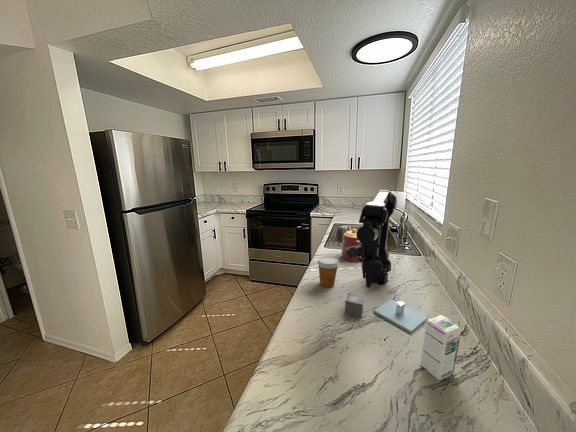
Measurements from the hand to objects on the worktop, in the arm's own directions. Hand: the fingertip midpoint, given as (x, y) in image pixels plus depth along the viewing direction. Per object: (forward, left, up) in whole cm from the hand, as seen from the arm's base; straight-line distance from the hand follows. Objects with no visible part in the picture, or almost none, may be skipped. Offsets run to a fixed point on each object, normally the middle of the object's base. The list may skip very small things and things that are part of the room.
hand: (366, 282), depth 86 cm
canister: (-36, +39, -13) cm, 55 cm away
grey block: (-3, -1, -13) cm, 13 cm away
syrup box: (+27, -4, -13) cm, 30 cm away
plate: (+9, +10, -13) cm, 18 cm away
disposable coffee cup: (-23, +5, -13) cm, 27 cm away
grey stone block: (+8, +10, -12) cm, 17 cm away
